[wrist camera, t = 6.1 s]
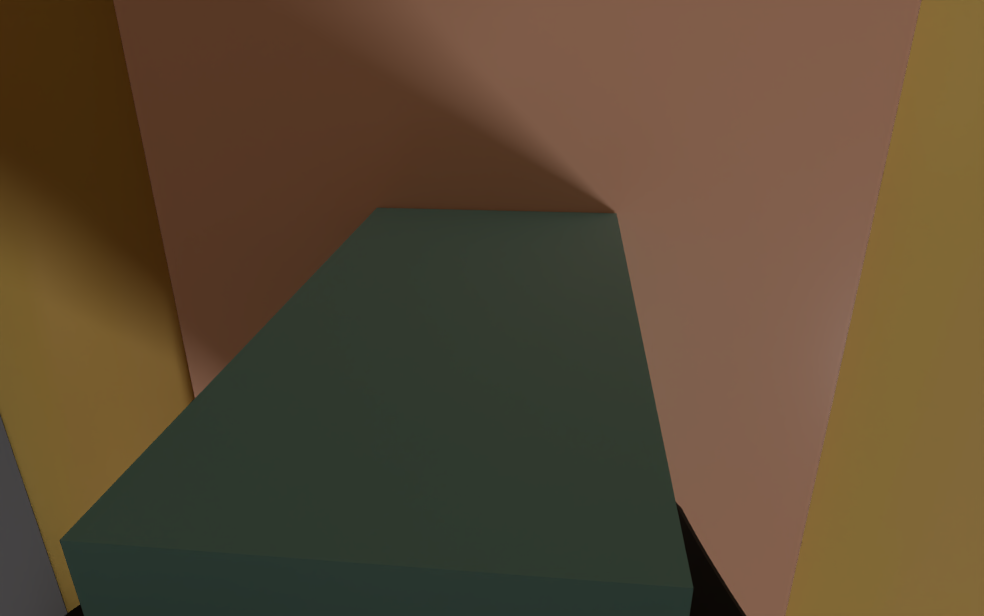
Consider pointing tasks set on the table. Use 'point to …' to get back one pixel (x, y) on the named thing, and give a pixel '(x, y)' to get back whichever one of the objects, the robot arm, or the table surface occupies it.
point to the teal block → (413, 443)
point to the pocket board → (22, 548)
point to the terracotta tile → (555, 189)
